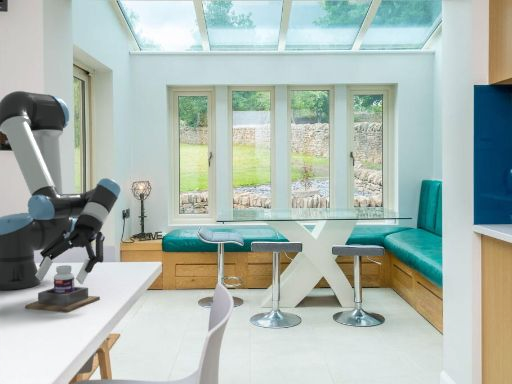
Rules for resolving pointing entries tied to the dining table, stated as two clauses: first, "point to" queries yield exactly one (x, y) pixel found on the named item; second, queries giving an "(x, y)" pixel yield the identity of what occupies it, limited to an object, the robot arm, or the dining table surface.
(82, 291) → the square framed tray
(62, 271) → the pill bottle
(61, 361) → the dining table surface
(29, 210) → the robot arm
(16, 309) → the dining table surface
